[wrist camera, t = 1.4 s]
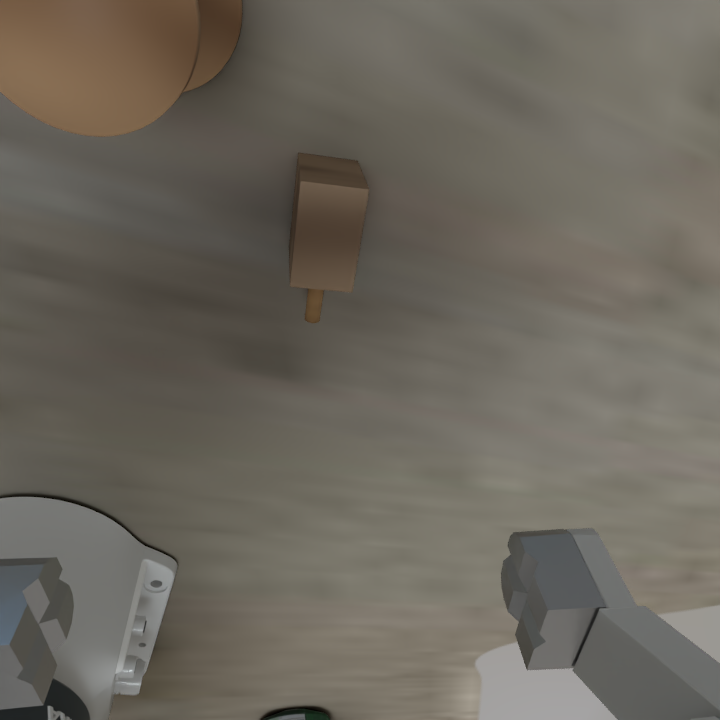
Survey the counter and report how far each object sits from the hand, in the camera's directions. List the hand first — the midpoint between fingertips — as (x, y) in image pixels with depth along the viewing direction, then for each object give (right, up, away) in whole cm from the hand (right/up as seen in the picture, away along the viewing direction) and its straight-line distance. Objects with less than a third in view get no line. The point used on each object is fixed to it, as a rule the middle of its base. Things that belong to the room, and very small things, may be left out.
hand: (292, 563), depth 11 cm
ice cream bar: (-1, +11, +21) cm, 23 cm away
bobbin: (-7, +19, +14) cm, 25 cm away
